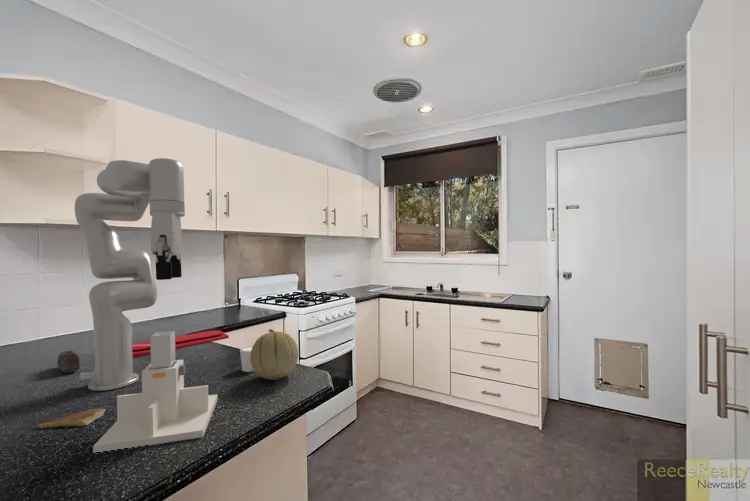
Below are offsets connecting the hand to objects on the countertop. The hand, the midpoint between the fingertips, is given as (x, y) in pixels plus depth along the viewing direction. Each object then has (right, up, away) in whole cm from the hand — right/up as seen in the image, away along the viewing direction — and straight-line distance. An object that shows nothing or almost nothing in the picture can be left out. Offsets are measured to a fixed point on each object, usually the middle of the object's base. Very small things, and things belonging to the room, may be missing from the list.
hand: (169, 278), depth 87 cm
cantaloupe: (+20, -33, +23) cm, 45 cm away
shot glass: (+9, -34, +33) cm, 48 cm away
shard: (-20, -35, -4) cm, 41 cm away
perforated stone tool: (-57, -35, +36) cm, 76 cm away
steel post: (+2, -31, -5) cm, 31 cm away
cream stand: (+2, -34, -5) cm, 34 cm away
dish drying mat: (-37, -35, +67) cm, 84 cm away
